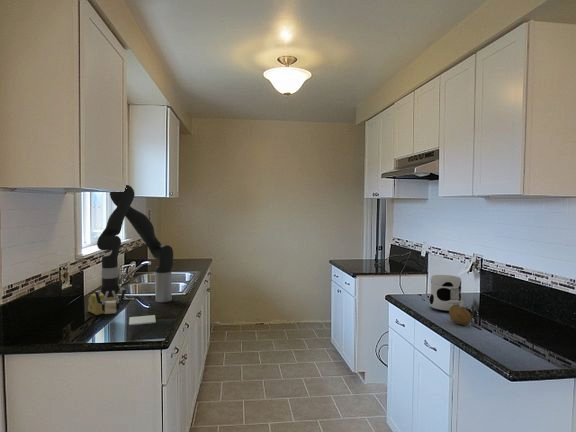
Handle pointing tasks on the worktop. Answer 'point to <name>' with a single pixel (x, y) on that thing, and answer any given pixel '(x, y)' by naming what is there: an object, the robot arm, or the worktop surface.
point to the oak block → (110, 307)
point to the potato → (460, 315)
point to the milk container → (445, 292)
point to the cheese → (97, 304)
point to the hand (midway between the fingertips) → (110, 310)
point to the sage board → (142, 320)
